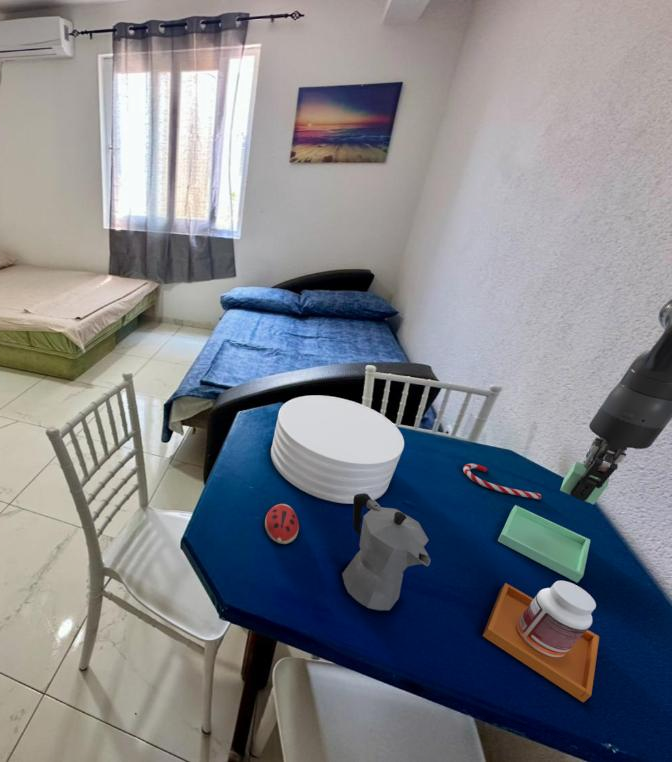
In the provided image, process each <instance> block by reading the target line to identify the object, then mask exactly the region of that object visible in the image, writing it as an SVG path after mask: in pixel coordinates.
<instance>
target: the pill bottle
mask: <svg viewBox="0 0 672 762" xmlns="http://www.w3.org/2000/svg"><path fill="white" fill-rule="evenodd" d="M596 607H597V603H596V601H595V599H594V598H593V597H592V596H591V594H590V593H588V592H587V591H586V590H585V589H583V588H582V587H581V586H578V585H576V584H575V583H572V582H570V581H566V580H557V581H555V582H554V583H553V584H552V585H551V587H546V588H542V589H540V590H539V591H538V592H537V594H536V595H535V597H534V598H533V601H532V602H531V603H530V605H529V606H528V608H527V609H526V610H525V611H524V613H523V614H522V615H521V617H520V618H519V620H518V622H517V629H518V631H519V633H520V635H521V636H522V638H523V639H524V640H525V641H526V642H527V643H528V644H529V645H530V646H532V647H533V648H534V649H536V650H537V651H539V652H541V653H543V654H545V655H547V656H551V657H562V656H564V655H565V654H566V653H567V652H568V651H569V650H570V649H571V648H572V646H573V645H574V644H575V643H576V642H577V641H578V640H579V638H580V637H581V636H582V635H583V634H584V633H585V632H586V631H587V630H589V628H590V627H591V626H592V624H593V616H592V613H593V612H594V610H596Z"/></svg>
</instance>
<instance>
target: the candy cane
mask: <svg viewBox="0 0 672 762" xmlns="http://www.w3.org/2000/svg"><path fill="white" fill-rule="evenodd" d="M472 469H473V470H478V471H480V472H482V473H485V472H487V470H488V468H487V467H485V466H482V465H481V464H477V463H467V464H465V465H464V466H463V468H462V470H463V473H464V474H465V476H466V477H467V478H468V479H469V480H471V481H472V482H474V483H476V484H477V485H479V486H482V487H484V488H487V489H490V490H493V491H496V492H499V493H504V494H509V495H512V496H513V495H514V496H517V497H523V498H529V499H534V500H535V499H536V500H541V499H542V494H540V493H538V492H531V491H525V490H520V489H516V488H510V487H507V486H503V485H502V486H501V485H498V484H494V483H491V482H488V481H486V480H484V479H481V478H480V477H478V476H476V475H474V474H473V473H472V472H471V470H472Z"/></svg>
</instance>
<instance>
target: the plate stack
mask: <svg viewBox="0 0 672 762" xmlns="http://www.w3.org/2000/svg"><path fill="white" fill-rule="evenodd" d="M273 434H274V435H273V439H272V443H271V444H272V445H271V448H270V457H271V461H272V463H273V465H274V467H275V469H276V470H277V471H278V473H279V474H280V475H281V476H282V477H283V478H284V479H285V480H286V481H287V482H289V483H290V484H291V485H293V486H294V487H296V488H298V489H299V490H301V491H303V492H305V494H308V495H311V496H313V497H315V498H318V499H321V500H325V501H328V502H332V503H339V504H346V505H347V504H348V505H349V504H350V505H353V499H354V496H355V495H356V494H363V493H366V494H368V495H369V496H370V498H371V499H372V500H375V501H376V500H377V499H379V498H381V497H382V496H383V495H384V494H385V493H386V492H387V490H388V489H389V486H390V483H391V481H392V478H393V476H394V473H395V471H396V468H397V465H398V463H399V461H400V458H401V456H402V453H403V451H404V448H405V440H404V436H403V434H402V432H401V430H400V429H399V428H398V427H397V426H396V425H395V424H394V423H393V421H391V420H390V419H388V418H387V416H385V415H384V414H381V413H380V412H378V411H376V410H375V409H372V408H371V407H368V406H367V405H365V404H362V403H358V402H356V401H353V400H349V399H345V398H341V397H337V396H330V395H320V394H319V395H318V394H317V395H314V394H313V395H303V396H298V397H294V398H291V399H290V400H288V401H286V402H285V403H283V404H282V405H281V406H280V409H279V411H278V415H277V419H276V424H275V428H274V433H273Z"/></svg>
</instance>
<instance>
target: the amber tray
mask: <svg viewBox="0 0 672 762" xmlns="http://www.w3.org/2000/svg"><path fill="white" fill-rule="evenodd" d="M533 599H534V598H533V597H532V596H529V595H528V594H526V593H524V592H522V591H521V590H519V589H518V588H516V587H514V586H512V585H510V584H508V583H506V582H505V583H504V584H503V585H502V587H501V588H500V590H499V592H498V595H497V598H496V600H495V603H494V605H493V608H492V611H491V613H490V616H489V618H488V620H487V623H486V625H485V628H484V631H483V634H482V637H483V638H485V639H486V640H487V641H489V642H491V643H492V644H493V645H495V646H496V647H498V648H499V649H501V650H503V651H504V652H506V653H507V654H509V655H511V657H514V658H515V659H516V660H518V661H520V662H521V663H522V664H524V665H525V666H527V667H528V668H530V669H531V670H533V671H534V672H536V673H538V674H539V675H541V676H542V677H544V678H545V679H547V680H548V681H549V682H551V683H553V684H554V685H556V686H558V687H559V689H562V690H563V691H565V693H566V692H567V693H568V694H570V695H571V696H572V697H574V698H575V699H577V700H578V701H580V702H581V703H583V704H584V702H586V701H587V700H588V699H589V698H590V697H592V693H593V686H594V680H595V671H596V664H597V657H598V649H599V643H600V636H599V635H598V634H597V633H594V632H593V631H591V630H589V629H587V631H586V632H585V633H584V634H583V635H582V636H581V637H580V638H579V640H578V641H577V642H576V643H575V644H574V645H573V646H572V648H571V649H570V650H569V651H568V652H567V653H566V654H565V655H564V656H562V657H551V656H547V655H545V654H543V653H541V652H539V651H537V650H536V649H534V648H533V647H532V646H530V645H529V644H528V643H527V642H526V641H525V640H524V639H523V638H522V636H521V635H520V633H519V631H518V629H517V622H518V620H519V618H520V617H521V615H522V614H523V613H524V611H525V610H526V609H527V608H528V606H529V605H530V603H531V602H532V601H533Z"/></svg>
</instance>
